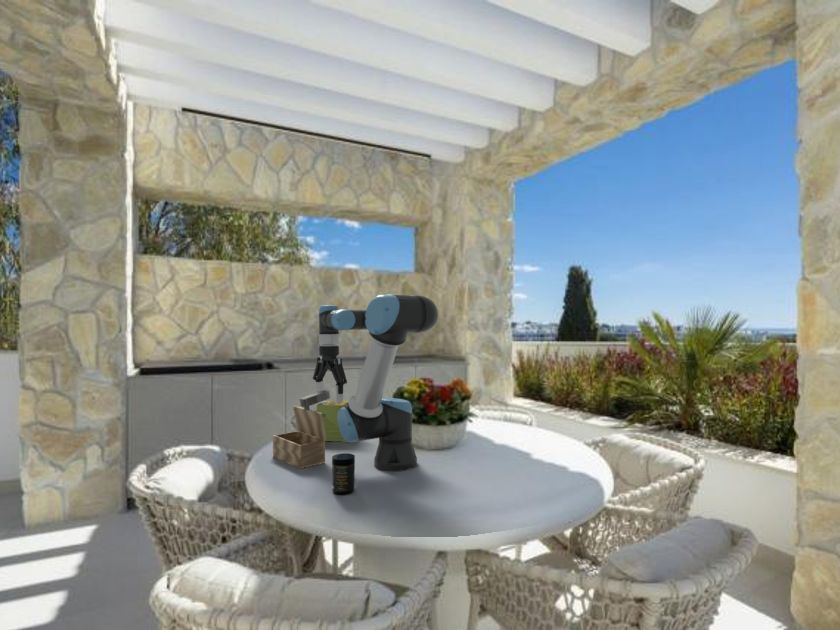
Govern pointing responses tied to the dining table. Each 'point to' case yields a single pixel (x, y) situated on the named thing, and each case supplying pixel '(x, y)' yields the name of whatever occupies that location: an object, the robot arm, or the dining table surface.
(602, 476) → the dining table surface
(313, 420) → the wooden stand with strip
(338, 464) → the supplement container
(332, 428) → the protein box
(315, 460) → the wooden box
